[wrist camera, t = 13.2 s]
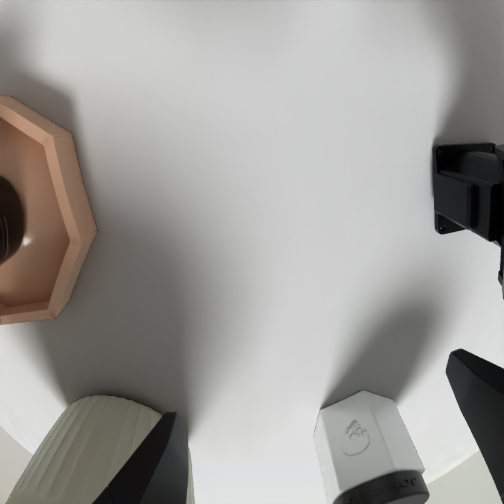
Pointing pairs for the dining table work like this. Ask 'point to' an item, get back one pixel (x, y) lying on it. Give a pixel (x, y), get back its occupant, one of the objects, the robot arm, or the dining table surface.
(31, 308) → the terracotta octagonal tray
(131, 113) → the dining table surface
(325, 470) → the jar
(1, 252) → the supplement bottle
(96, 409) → the canister
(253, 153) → the dining table surface
